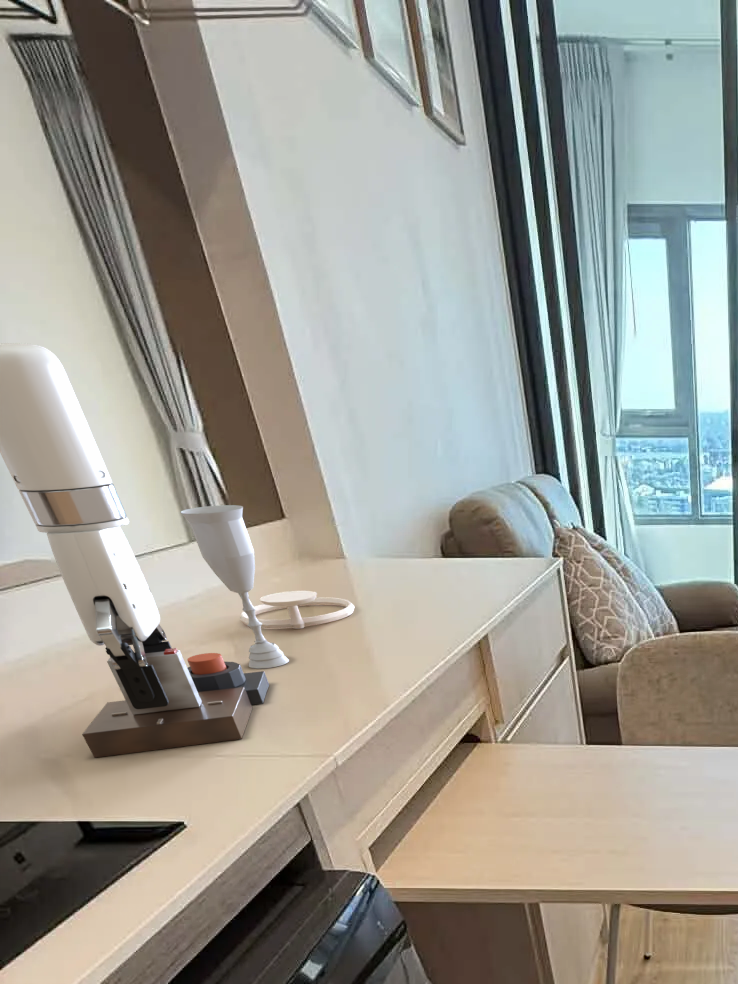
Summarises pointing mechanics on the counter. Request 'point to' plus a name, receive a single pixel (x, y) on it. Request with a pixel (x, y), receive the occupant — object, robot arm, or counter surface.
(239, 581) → the chalice
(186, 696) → the grey metal plate
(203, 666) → the button
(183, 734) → the block
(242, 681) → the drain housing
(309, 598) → the hand towel holder
